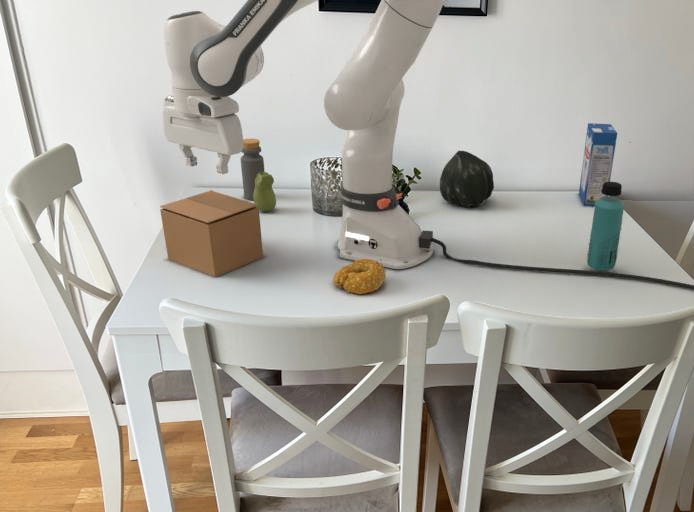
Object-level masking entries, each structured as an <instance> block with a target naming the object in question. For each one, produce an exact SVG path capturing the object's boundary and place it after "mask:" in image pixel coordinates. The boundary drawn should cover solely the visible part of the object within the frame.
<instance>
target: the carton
mask: <svg viewBox="0 0 694 512" xmlns="http://www.w3.org/2000/svg"><path fill="white" fill-rule="evenodd" d="M186 198H187V199H190V200H193V201H196V202H200V203H203V204H206V205H209V206H212V207H216V208H219V209H222V210H225V211H228V212H232V213H234V214H233V215H231V216H228V217H225V218H222V219H219V220H216V221H213V222H214V223H211V224H206V223H203V222H200V221H197V220H194V219H191V218H189V217H188V216H185V215H182V214H179V213H176V212H173V211H170V210H167V209H164V208H161V209H159V211H160V217H161V223H162V229H163V236H164V241H165V248H166V254H167V259H168V261H171V262H174V263H175V264H176V263H177V264H179V265H182V266H184V267H187V268H190V269H193V270H194V271H199V272H200V273H203V274H205V275H208V276H211V277H213V278H217V277H219V276H221V275H224V274H226V273H228V272H231V271H233V270H235V269H238V268H240V267H243V266H245V265H248V264H250V263H252V262H254V261H257V260H260V259H261V258H264V250H263V238H262V228H261V218H260V210H259V208H258V207H256V206H258V204H255V203H254V202H250V201H249V200H244V199H241V198H237V197H234V196H231V195H228V194H224V193H221V192H219V191H218V192H217V191H214V190H208V191H204V192H202V193H199V194H195V195H192V196H189V197H186Z"/></svg>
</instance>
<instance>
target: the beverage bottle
mask: <svg viewBox="0 0 694 512" xmlns="http://www.w3.org/2000/svg"><path fill="white" fill-rule="evenodd" d="M622 188H623V185H622V183H620V182H617V181H610V182H605V183H604V184H603V187H602V191H601V192H602V194H604V195H608V196H604V197H601V198H600V199H598V200H597V201H596V202H595V207H594V208H593V209H594V210H593V216H592V223H591V228H590V229H591V230H590V235H589V242H588V248H587V256H586V263H587V266H588V267H589V268H591V269H593V270H595V271H611V270H613V269H615V266H616V265H617V264H616V263H617V260H618V254H619V252H618V251H619V247H620V246H619V245H620V239H621V237H620V236H621V231H622V227H623V226H622V225H623V216H624V210H625V204H624V202H623V201H622V200H621V199H620V198H619V197H618V196H621V195H622Z"/></svg>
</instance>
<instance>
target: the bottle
mask: <svg viewBox="0 0 694 512" xmlns="http://www.w3.org/2000/svg"><path fill="white" fill-rule="evenodd" d="M260 143H261V141H260V139H258V138H243V149H242V151H241V152H240V153H242V154H243V155H242V156H241V157H240V168H241V177H242V189H243V196H244V199H246V200H247V201H254V198H253V193H254V189H255V178H256V177H257V174H259V172H266V171H265V162H264V156H262V155H261V154H260V153H261V152H262V147H261V146H260Z"/></svg>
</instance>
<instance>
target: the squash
mask: <svg viewBox="0 0 694 512" xmlns="http://www.w3.org/2000/svg"><path fill="white" fill-rule="evenodd" d="M494 189H495V184H494V173H493V171H492V168H491V166H490V165H489V164H488V163H487V162H486V161H485V160H483V159H481V158H480V157H478V156H477V155H475V154H473V153H472V152H468V151H466V150H457V151H456V152H455V153H454V155H453V156H452V157H451V158H450V159H449V160H448V161H447V163H446V164H445V165H444V167H443V169H442V171H441V175H440V177H439V191H440V195H441V197H442V199H444V200H445V201H446V202H448V203H450V204H451V205H454V206H461V205H462V206H463V207H465V208H469V207H471V206H474V207H478V206H479V207H480V206H482V205H483V204H484V202H485V201H486V200H488V199H490V197H492V194H493V190H494Z"/></svg>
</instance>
